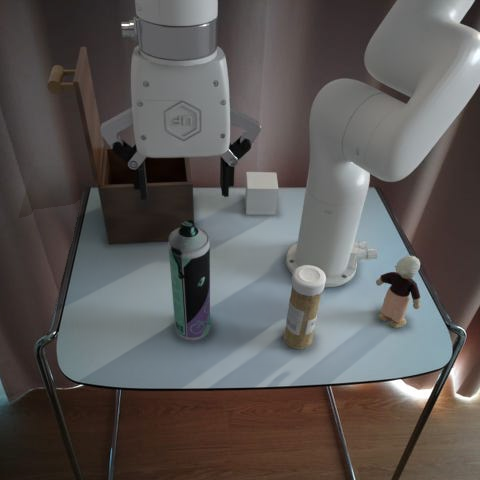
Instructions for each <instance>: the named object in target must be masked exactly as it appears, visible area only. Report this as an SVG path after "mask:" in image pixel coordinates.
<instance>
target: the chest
mask: <svg viewBox="0 0 480 480" xmlns="http://www.w3.org/2000/svg"><path fill="white" fill-rule="evenodd" d="M130 146H131V147H132V145H130ZM145 170H146V179H147V199H146V200H141V193H140V190H134V183H133V175H132V169H131V168H129V166H128V164H127V163H126V162H125V161H124V160H122V159H121V158H120V157H118V156H117V155H116V154H115V153H114V152H113V150H112V148H111V147H110V146H104V148H103V158H102V167H101V177H100V185H97V192H98V196H99V201H100V205H101V206H100V207H101V211H102V215H103V216H102V217H103V220H104V226H105V231H106V236H107V241H108V245H122V244H123V245H124V244H141V243H143V244H144V243H159V242H169V236H170V234H171V233H172V232H173V231H174V230H176V229H178V228H180V227H181V224H182V223H183V222H185V221H188V220H192V221H194V222H195V210H194V209H195V208H194V207H195V206H194V184H193V183H194V182H193V176H192V175H193V174H192V167H191V159H190V157H178V158H151V157H146V159H145Z"/></svg>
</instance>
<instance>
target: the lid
mask: <svg viewBox="0 0 480 480" xmlns="http://www.w3.org/2000/svg"><path fill="white" fill-rule="evenodd" d="M87 50H88V49H87V47H86V46H80V48H79V53H78V58H77V62H76V67H75V69H65V68H64V67H63V66H62V65H59V64H55V65H54V66H53V67H52V68H51V71H50V75H49V77H48V81H47V85H46V88H47V90H48V91H49V93H51V94H52V95H59V94H60V93H61V92H62V90H74V93H75V98H76V104H77V108H78V113H79V118H80V122H81V128H82V132H83V136H84V140H85V146H86V150H87V155H88V160H89V165H90V170H91V174H92V178H93V183H94V186H98V185H100V177H101V167H102V158H103V148H104V147H105V143H104V138H103V136H102V135H101V133H100V129H101V121H100V115H99V111H98V105H97V99H96V95H95V88H94V83H93V78H92V73H91V72H92V71H91V67H90V61H89V56H88V51H87ZM72 76H73V80H72V82H64V81H65V78H66V77H72Z"/></svg>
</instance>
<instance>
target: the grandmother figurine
mask: <svg viewBox="0 0 480 480" xmlns="http://www.w3.org/2000/svg"><path fill="white" fill-rule="evenodd" d="M420 267H421V261H420V259H419V258H418V257H416V256H415V255H406V256H403V257H402V258H400V259H399V260H398V262H397V263H396V264H395V265H394V268H395V271H389V272H386V273H383V274H381V275H380V277H379V278H378V279H377V280H376V281H375V284H376V286H378V287H381V286H383V284H388V285H390V286H389V287H388V289H387V291H386V294H385V296H384V299H383V303H382V306H381V311H380V312H379V314H378V320H380V321H382V322H388V321H389V320H390V319H392V320H391V321H390V323H389V324H390V326H391V327H392V328H395V329H400V328H402V327H405V326H406V325H407V319H406V318H405V316H406V312H407V308H408V306H409V303H410V296H411V299H412V307H413V309H415V310H419V309H420V308H421V304H420V303H421V294H420V290H419V287H418V284H417V282H416V281H415V280H414V279H413V278H414V277H416V276H417V274H418V273H419V271H420V269H421V268H420Z"/></svg>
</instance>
